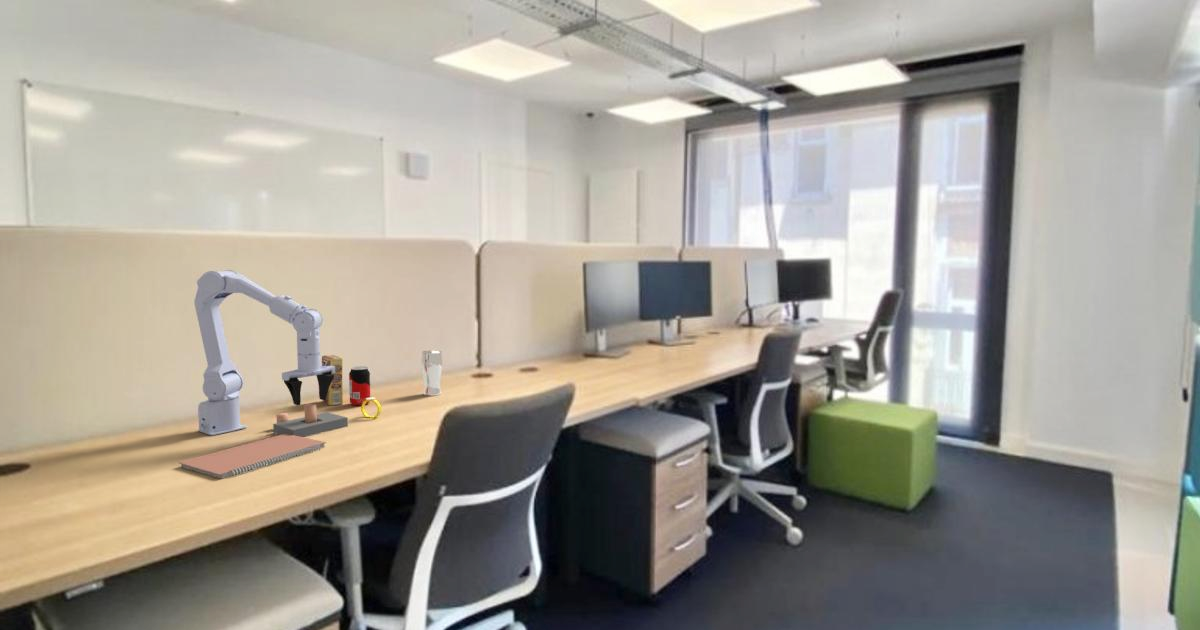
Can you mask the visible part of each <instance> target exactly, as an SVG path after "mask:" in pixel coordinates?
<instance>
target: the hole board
mask: <svg viewBox="0 0 1200 630" xmlns="http://www.w3.org/2000/svg"><path fill="white" fill-rule="evenodd" d="M348 421H349V420H348V417H347V416H343V415H339V414H335V413H331V412H328V411H327V412H322V413H317V422H314V423H309V424H307V423H305V416H303V417H299V418H295V419H291V420H290V419H289V421H285V422H280V423H277V422H275V423H272V427H273V434H275V433H276V435H281V434H285V433H286V434H291V435H295V436H300V437H304V438H306V437H309V436H312V435H318V434H321V432H322V433H325V432H330V431H333V430H337V429H342V428H346V427H348V424H349V422H348Z"/></svg>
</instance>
